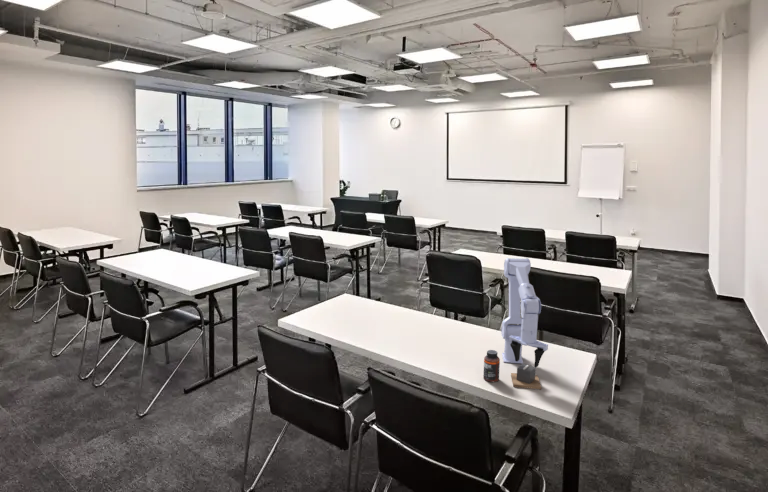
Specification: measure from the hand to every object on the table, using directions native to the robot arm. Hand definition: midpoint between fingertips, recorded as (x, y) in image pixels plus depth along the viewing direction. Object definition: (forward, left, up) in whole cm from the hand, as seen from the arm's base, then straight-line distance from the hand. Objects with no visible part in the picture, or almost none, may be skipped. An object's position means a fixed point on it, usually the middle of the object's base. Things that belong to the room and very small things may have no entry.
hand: (526, 363), depth 179 cm
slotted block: (0, 0, -7) cm, 7 cm away
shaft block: (0, 0, -8) cm, 8 cm away
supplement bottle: (0, -13, -8) cm, 15 cm away
